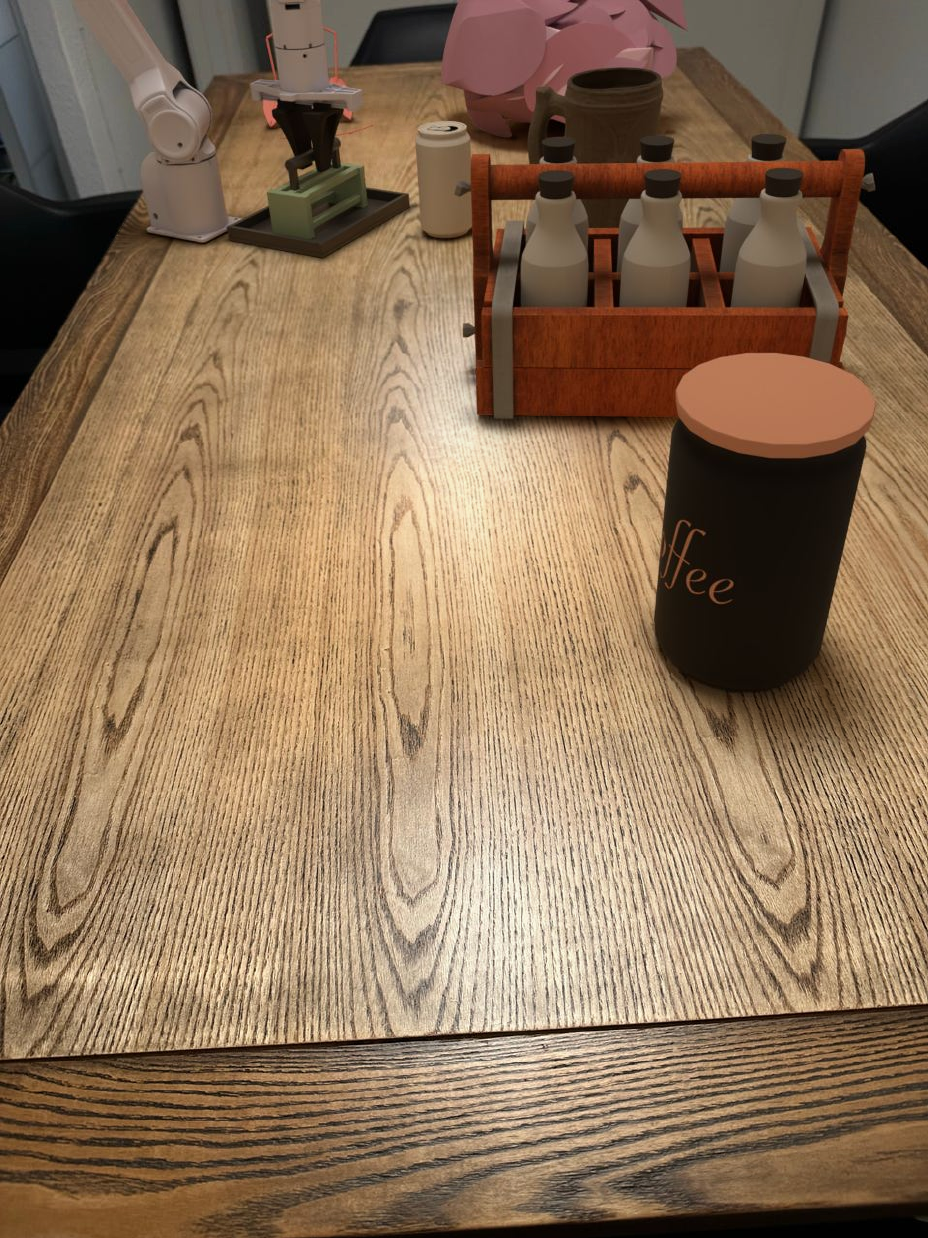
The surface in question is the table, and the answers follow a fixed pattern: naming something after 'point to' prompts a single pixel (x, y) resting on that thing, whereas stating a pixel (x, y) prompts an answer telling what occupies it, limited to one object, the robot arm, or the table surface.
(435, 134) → the beverage can
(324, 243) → the tray
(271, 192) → the green tool caddy
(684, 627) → the coffee jar
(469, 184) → the milk bottle holder
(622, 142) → the beer stein
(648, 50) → the flower arrangement
